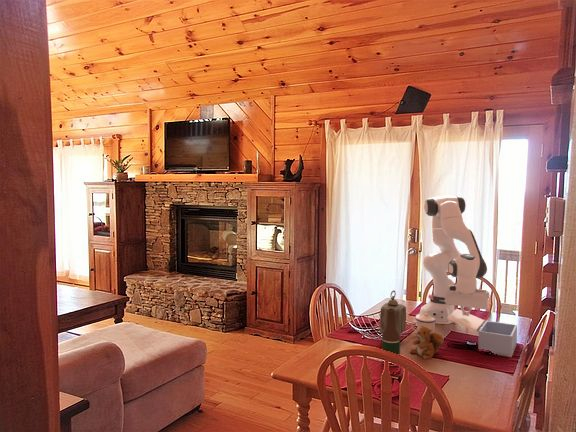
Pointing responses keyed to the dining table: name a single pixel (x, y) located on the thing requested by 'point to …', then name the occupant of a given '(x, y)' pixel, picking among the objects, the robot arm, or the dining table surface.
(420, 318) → the teacup with lid
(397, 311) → the brown cowbell
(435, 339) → the stuffed squirrel
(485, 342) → the box
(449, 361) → the dining table surface
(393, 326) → the beer bottle
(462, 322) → the lid
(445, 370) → the dining table surface
